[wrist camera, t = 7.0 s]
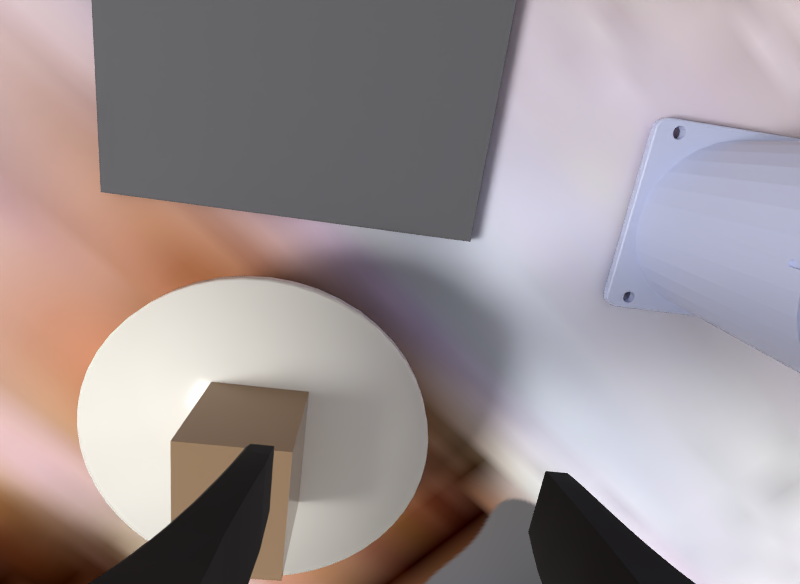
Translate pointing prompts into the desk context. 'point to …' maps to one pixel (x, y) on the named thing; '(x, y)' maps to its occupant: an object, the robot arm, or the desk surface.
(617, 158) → the desk surface
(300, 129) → the mat
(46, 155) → the desk surface
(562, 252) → the desk surface
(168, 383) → the lid
